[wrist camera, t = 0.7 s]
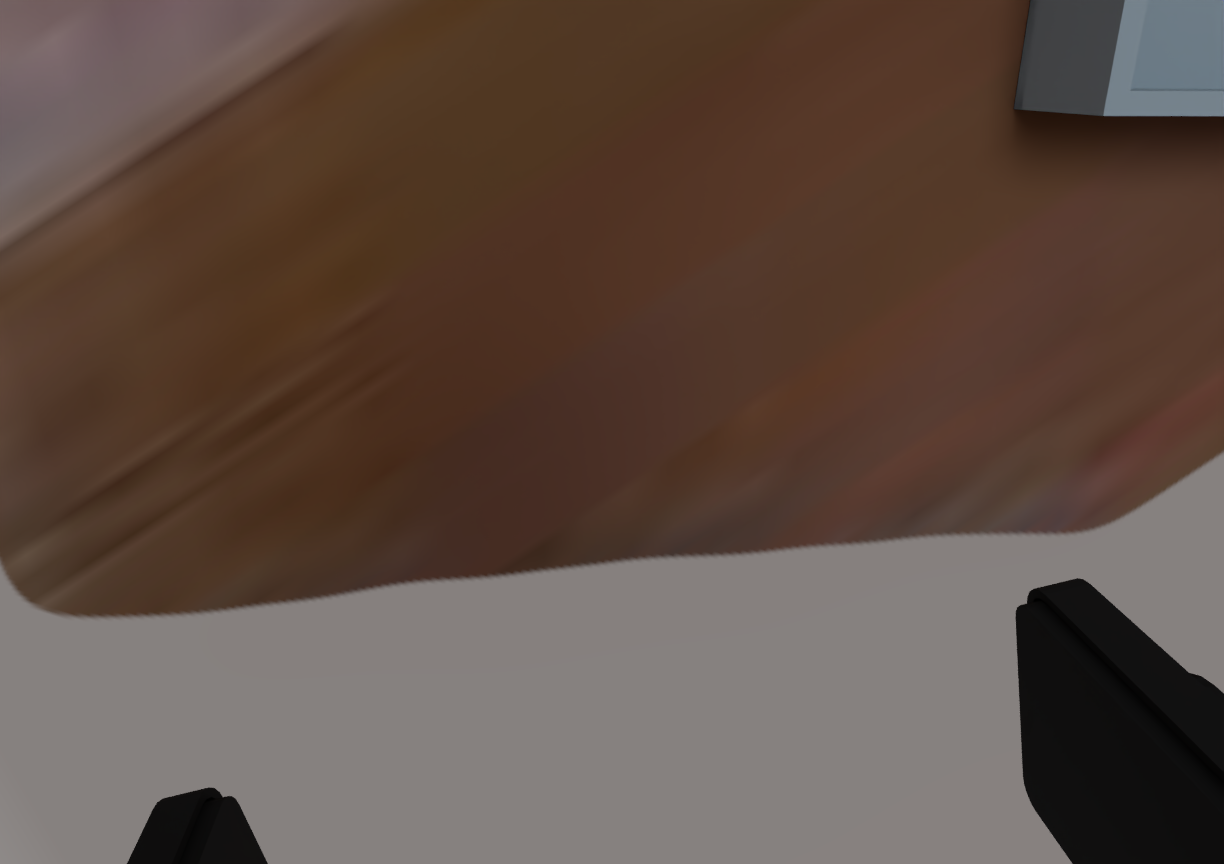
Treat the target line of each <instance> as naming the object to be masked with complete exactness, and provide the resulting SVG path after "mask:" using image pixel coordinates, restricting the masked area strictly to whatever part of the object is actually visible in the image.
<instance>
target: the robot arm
mask: <svg viewBox="0 0 1224 864" xmlns="http://www.w3.org/2000/svg"><path fill="white" fill-rule="evenodd" d="M1016 635H1017V656H1018V678H1019V698H1020V720H1021V742H1022V764H1023V779H1024V785H1025V788H1026V791H1027V794H1028V797H1029V799H1030V801H1031V803H1032V806H1033V807H1034V809H1035V811H1036V812H1037V814H1038V815H1039V816H1040V818H1041V819H1042V821H1043V822H1044V823H1045V825H1046V826H1047V828H1048V829H1049V831H1050V832H1051V834H1052V835H1053V836H1054V838H1055V839H1056V841H1057V842H1058V843H1059V845H1060V846H1061V848H1062V849H1063V851H1064V852H1065V853H1066V855H1067V856H1068V858H1069V859H1070V861H1071V862H1072V863H1073V864H1224V693H1222V692H1221V691H1220V690H1219V689H1218V688H1217V687H1216V686H1214V685H1213V684H1212V683H1210V682H1209V681H1207V680H1206V679H1204V678H1203V677H1201V676H1198V675H1195V674H1191V673H1188V672H1187V671H1186V670H1185V669H1184V668H1183V667H1182V666H1181V665H1179V664H1178V663H1177V662H1176V661H1175V660H1174V659H1173V658H1172V657H1171V656H1169V655H1168V654H1167V653H1166V652H1165V651H1164V650H1163V649H1162V648H1161V647H1159V646H1158V645H1157V644H1156V643H1155V642H1154V641H1153V640H1152V639H1151V638H1149V637H1148V636H1147V635H1146V634H1145V633H1144V632H1143V631H1142V630H1141V629H1139V628H1138V627H1137V626H1136V625H1135V624H1134V623H1133V622H1132V621H1131V620H1129V619H1128V618H1127V617H1126V616H1125V615H1124V614H1123V613H1122V612H1121V611H1120V610H1118V609H1117V608H1116V607H1115V606H1114V605H1113V604H1112V603H1111V602H1109V601H1108V600H1107V599H1106V598H1105V597H1104V596H1103V595H1101V593H1099V592H1098V591H1097V590H1096V589H1095V588H1094V587H1093V586H1092V585H1091V584H1089V583H1088V582H1086V581H1085V580H1083V579H1078V578H1077V579H1073V580H1069V581H1065V582H1061V583H1057V584H1052V585H1048V586H1044V587H1040V588H1036V589H1033V590H1031V591H1030V593H1029V595H1028V598H1027V604H1024V605H1020V606H1019V607H1017V610H1016ZM127 864H268V863H267V861H266V859H265V857H264V855H263V853H262V851H261V849H260V847H259V845H258V843H257V841H256V838H255V836H254V834H253V832H252V830H251V828H250V826H249V824H248V822H247V820H246V818H245V816H244V814H243V812H242V809H241V807H240V805H239V804H238V802H237V800H236V799H235V798H233V797H232V796H227V797H222V795H221V794H220V792H218V791H217V790H216V789H215V788H205V789H201V790H197V791H193V792H188V793H184V794H180V795H176V796H172V797H168V798H164V799H162V800H160V801H159V802H158V803H157V804H156V806H155V807H154V809H153V810H152V813H151V815H150V817H149V819H148V821H147V823H146V825H145V827H144V829H143V831H142V834H141V836H140V838H139V840H138V842H137V844H136V846H135V848H134V850H133V852H132V854H131V857H130V859H129V861H128V863H127Z"/></svg>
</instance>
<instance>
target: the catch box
mask: <svg viewBox="0 0 1224 864" xmlns="http://www.w3.org/2000/svg"><path fill="white" fill-rule="evenodd" d="M1014 109H1019V110H1032V111H1045V112H1058V113H1071V114H1084V115H1097V116H1224V0H1031V1H1030V8H1029V14H1028V20H1027V27H1026V33H1025V40H1024V46H1023V53H1022V59H1021V66H1020V72H1019V79H1018V85H1017V92H1016V98H1015V105H1014Z"/></svg>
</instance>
